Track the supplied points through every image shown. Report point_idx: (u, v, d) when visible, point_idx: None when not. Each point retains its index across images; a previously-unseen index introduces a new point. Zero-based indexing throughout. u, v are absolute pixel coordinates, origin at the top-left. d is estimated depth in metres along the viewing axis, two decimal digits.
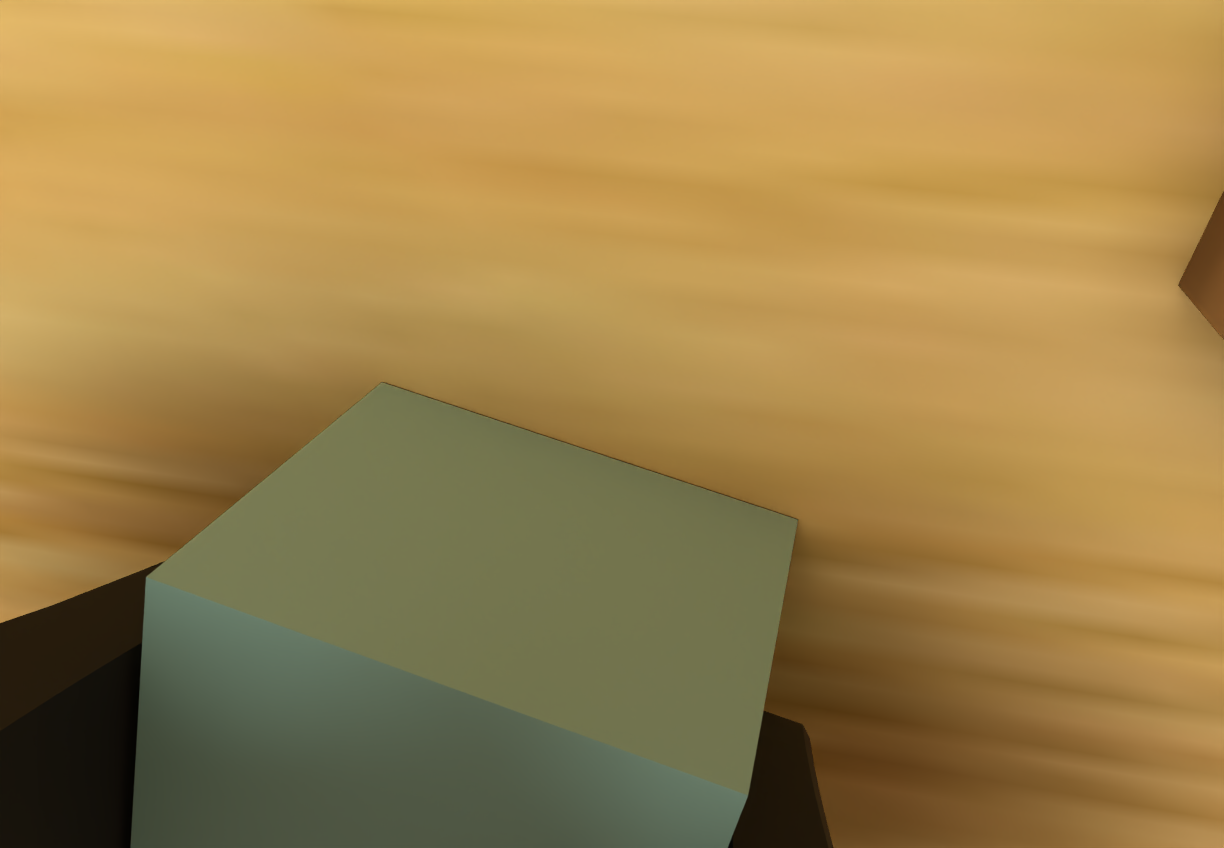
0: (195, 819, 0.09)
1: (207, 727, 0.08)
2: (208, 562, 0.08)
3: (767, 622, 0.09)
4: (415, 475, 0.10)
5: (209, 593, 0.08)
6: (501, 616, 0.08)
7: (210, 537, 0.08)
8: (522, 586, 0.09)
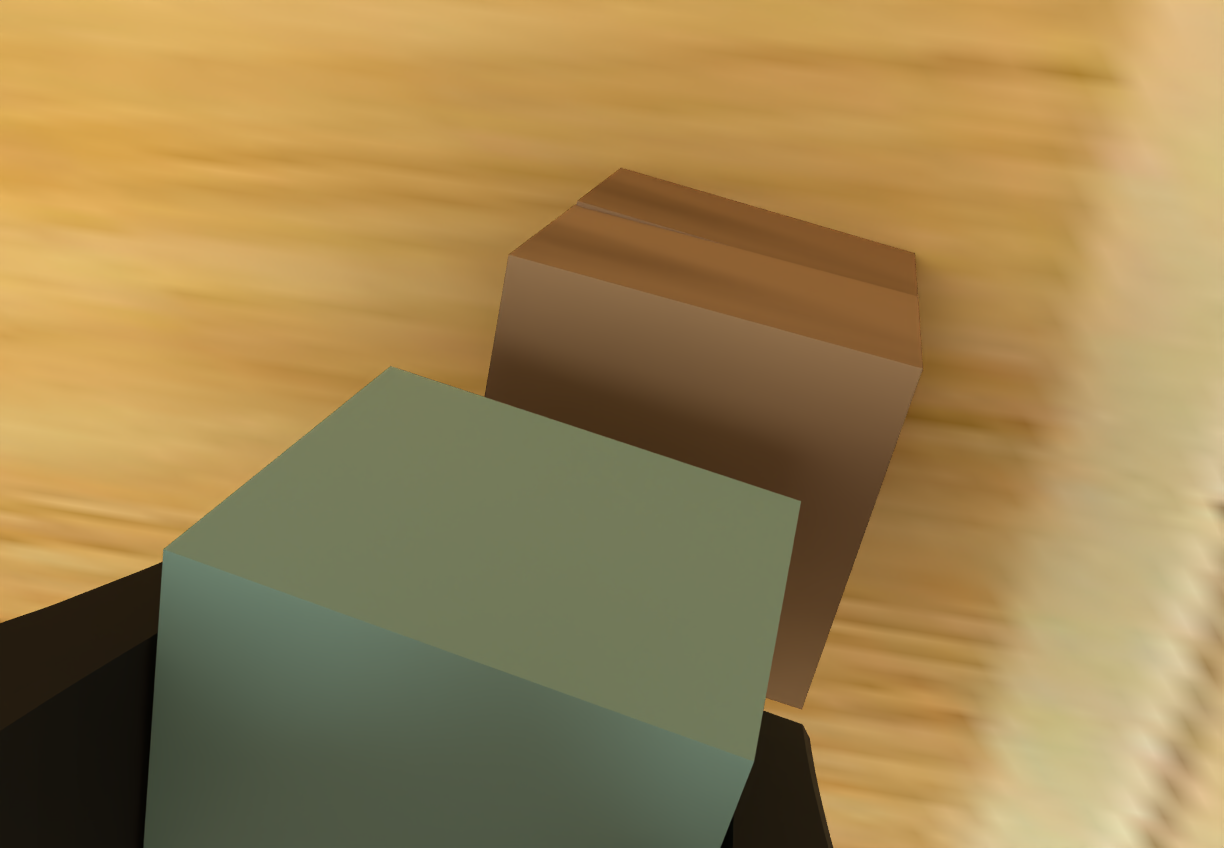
0: (209, 790, 0.09)
1: (222, 698, 0.08)
2: (223, 535, 0.08)
3: (771, 598, 0.09)
4: (424, 455, 0.10)
5: (225, 565, 0.08)
6: (511, 589, 0.09)
7: (225, 511, 0.09)
8: (531, 561, 0.09)
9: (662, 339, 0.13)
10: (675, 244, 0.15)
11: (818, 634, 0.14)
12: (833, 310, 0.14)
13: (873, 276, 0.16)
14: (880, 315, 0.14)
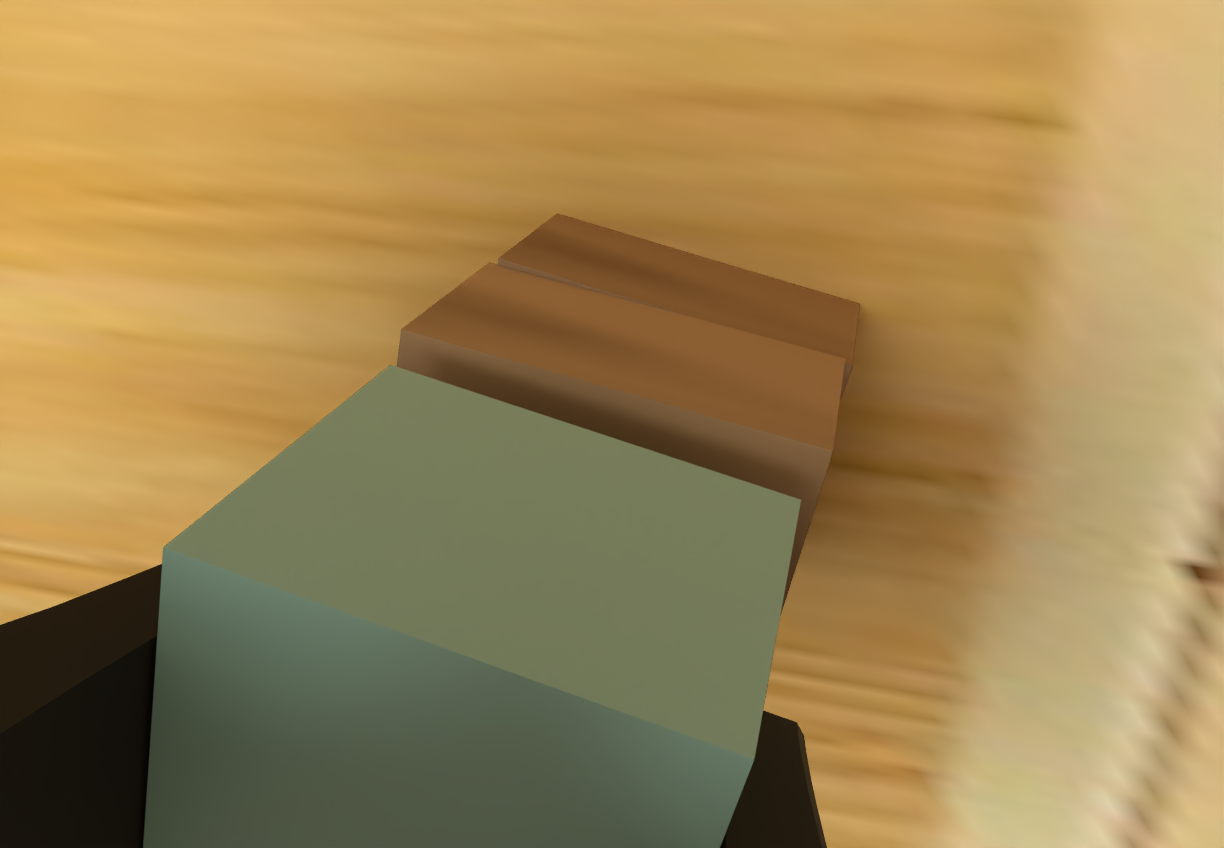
0: (209, 788, 0.09)
1: (222, 696, 0.08)
2: (224, 534, 0.08)
3: (771, 596, 0.09)
4: (424, 453, 0.10)
5: (225, 563, 0.08)
6: (510, 587, 0.09)
7: (223, 509, 0.09)
8: (531, 560, 0.09)
9: (563, 417, 0.12)
10: (590, 307, 0.14)
11: None
12: (748, 382, 0.13)
13: (808, 337, 0.15)
14: (798, 386, 0.13)
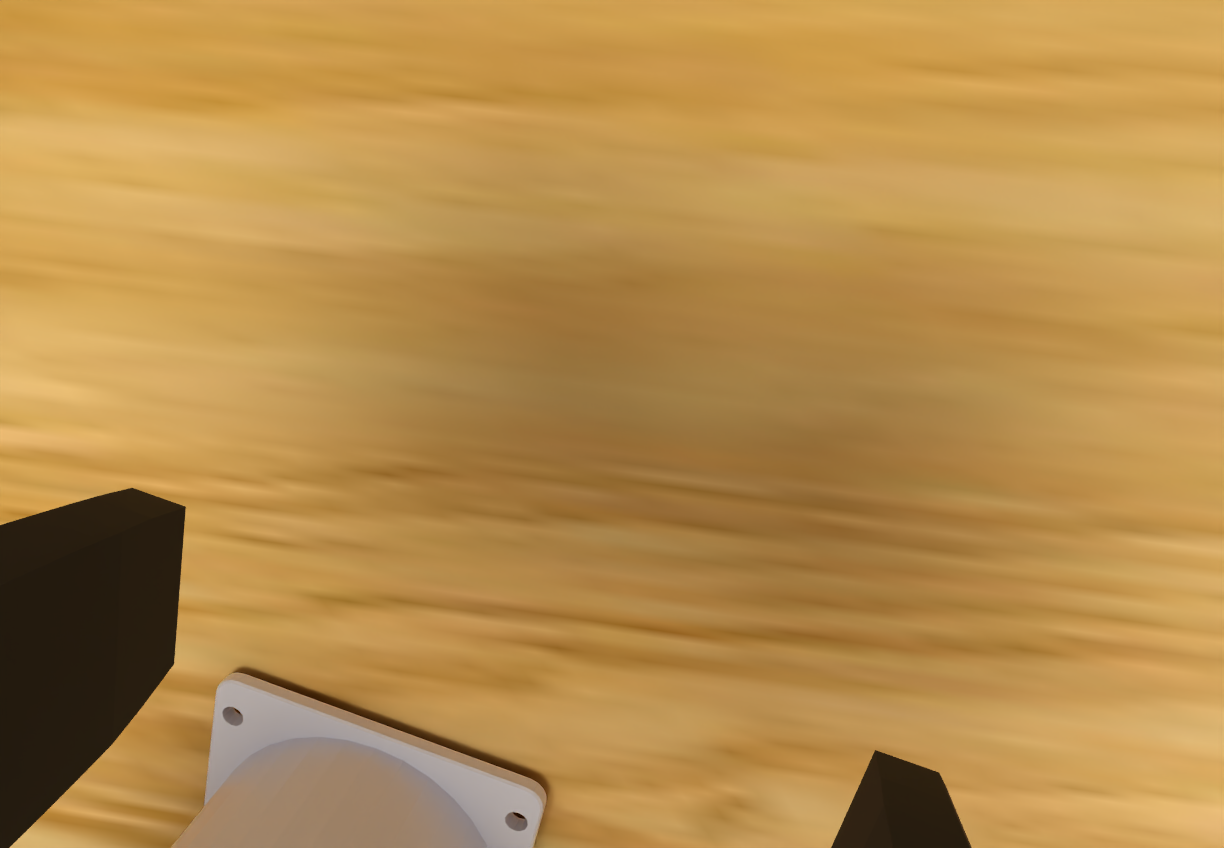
0: None
1: None
2: None
3: None
4: None
5: None
6: None
7: None
8: None
9: None
10: None
11: None
12: None
13: None
14: None
